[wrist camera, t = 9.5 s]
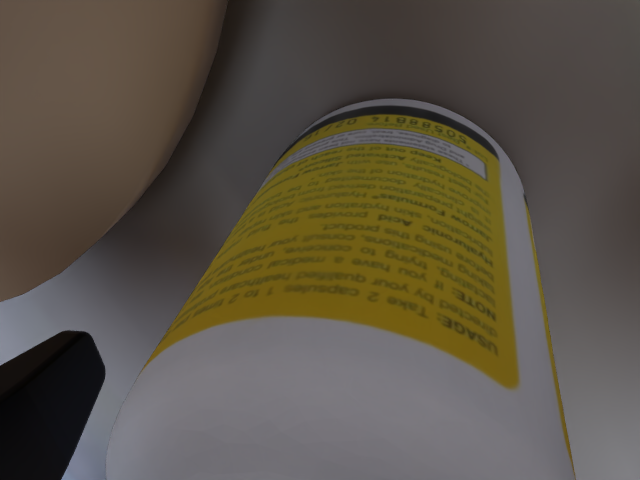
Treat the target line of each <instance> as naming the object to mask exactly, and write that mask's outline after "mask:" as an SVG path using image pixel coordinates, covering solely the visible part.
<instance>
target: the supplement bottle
mask: <svg viewBox="0 0 640 480" xmlns="http://www.w3.org/2000/svg"><path fill="white" fill-rule="evenodd" d="M106 480H576V478H575V472H574V467H573V461H572V456H571V450H570V444H569V439H568V434H567V428H566V423H565V418H564V412H563V405H562V401H561V395H560V390H559V384H558V379H557V372H556V367H555V361H554V354H553V350H552V343H551V336H550V331H549V325H548V318H547V312H546V306H545V300H544V294H543V290H542V284H541V277H540V270H539V264H538V260H537V254H536V248H535V242H534V236H533V229H532V223H531V218H530V214H529V209H528V205H527V201H526V197H525V193H524V189H523V186H522V183H521V180H520V178H519V176H518V174H517V172H516V169H515V167H514V166H513V164H512V162H511V161H510V159H509V157H508V156H507V155H506V153H505V152H504V151H503V149H502V148H501V147H500V146H499V145H498V144H497V143H496V141H495V140H494V139H492V138H491V137H490V136H489V135H488V134H487V133H486V132H485V131H483V130H482V129H481V128H480V127H478V126H477V125H475V124H474V123H473V122H471V121H469V120H468V119H466V118H464V117H463V116H461V115H459V114H456V113H454V112H452V111H450V110H448V109H445V108H443V107H440V106H437V105H433V104H430V103H426V102H421V101H416V100H408V99H377V100H371V101H365V102H360V103H356V104H352V105H349V106H346V107H343V108H340V109H338V110H335V111H333V112H332V113H330V114H328V115H326V116H324V117H322V118H320V119H319V120H318V121H316V122H315V123H313V124H312V125H311V126H309V127H308V128H307V129H306V130H305V131H304V132H302V133H301V134H300V135H299V136H298V137H297V138H296V139H295V140H294V142H293V143H292V144H291V145H290V146H289V147H288V148H287V149H286V151H285V152H284V153H283V154H282V156H281V157H280V158H279V159H278V161H277V162H276V163H275V165H274V167H273V168H272V170H271V171H270V173H269V174H268V176H267V177H266V179H265V181H264V182H263V184H262V185H261V187H260V188H259V190H258V192H257V193H256V195H255V196H254V198H253V199H252V201H251V202H250V204H249V205H248V207H247V208H246V210H245V212H244V213H243V215H242V217H241V218H240V220H239V221H238V223H237V224H236V226H235V227H234V228H233V230H232V232H231V233H230V235H229V236H228V238H227V240H226V241H225V243H224V244H223V246H222V247H221V249H220V250H219V252H218V254H217V255H216V257H215V258H214V260H213V261H212V263H211V264H210V266H209V267H208V269H207V271H206V272H205V274H204V275H203V277H202V278H201V280H200V281H199V283H198V284H197V286H196V287H195V289H194V291H193V292H192V294H191V295H190V297H189V298H188V300H187V301H186V303H185V304H184V306H183V308H182V309H181V311H180V312H179V314H178V315H177V317H176V318H175V320H174V321H173V323H172V325H171V326H170V328H169V329H168V331H167V332H166V334H165V335H164V337H163V338H162V340H161V342H160V343H159V345H158V346H157V348H156V349H155V351H154V352H153V354H152V355H151V357H150V358H149V360H148V361H147V363H146V364H145V366H144V368H143V369H142V371H141V373H140V374H139V376H138V378H137V380H136V381H135V383H134V385H133V387H132V388H131V390H130V392H129V394H128V396H127V397H126V399H125V401H124V403H123V405H122V406H121V408H120V411H119V413H118V416H117V418H116V421H115V423H114V426H113V428H112V432H111V436H110V440H109V444H108V448H107V457H106Z"/></svg>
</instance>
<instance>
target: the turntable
mask: <svg viewBox="0 0 640 480" xmlns="http://www.w3.org/2000/svg"><path fill="white" fill-rule="evenodd" d="M227 3H228V0H0V302H1V301H4V300H7V299H10V298H13V297H16V296H19V295H22V294H24V293H26V292H28V291H30V290H31V289H33V288H35V287H37V286H39V285H40V284H42V283H44V282H46V281H47V280H49V279H51V278H53V277H54V276H56V275H58V274H60V273H61V272H63V271H64V270H65V269H66V268H67V267H68V266H70V265H71V264H72V263H73V262H74V261H75V260H76V259H78V258H79V257H80V256H81V255H82V254H83V253H85V252H86V251H87V250H88V249H89V248H90V247H92V246H93V245H94V244H95V243H96V242H97V241H98V240H99V239H100V238H101V237H102V236H103V235H104V234H105V233H106V232H107V231H108V230H109V229H111V228H112V227H113V226H114V225H115V224H116V223H117V222H118V221H119V220H120V219H121V218H122V217H123V216H124V215H125V214H126V213H127V212H128V211H129V210H130V209H131V208H132V207H133V206H134V205H135V204H136V202H137V201H138V200H139V199H140V197H141V196H142V195H143V194H144V192H145V191H146V190H147V189H148V187H149V186H150V185H151V184H152V182H153V181H154V180H155V179H156V177H157V176H158V175H159V174H160V172H161V171H162V170H163V169H164V167H165V166H166V164H167V162H168V161H169V159H170V157H171V155H172V153H173V152H174V150H175V148H176V146H177V144H178V142H179V141H180V139H181V137H182V135H183V133H184V132H185V130H186V128H187V126H188V124H189V123H190V121H191V119H192V117H193V115H194V113H195V110H196V107H197V104H198V102H199V99H200V96H201V93H202V91H203V88H204V85H205V83H206V80H207V77H208V74H209V72H210V69H211V66H212V63H213V61H214V58H215V55H216V52H217V49H218V44H219V40H220V35H221V31H222V26H223V22H224V17H225V12H226V8H227Z"/></svg>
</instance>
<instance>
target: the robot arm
mask: <svg viewBox="0 0 640 480" xmlns="http://www.w3.org/2000/svg"><path fill="white" fill-rule="evenodd" d="M104 379H105V366H104V363H103V361H102V358H101V356H100V354H99V351H98V349H97V347H96V344H95V342H94V340H93V338H92V336H91V335H90V334H89V333H87V332H84V331H71V330H68V331H62V332H60V333H58V334H56V335H55V336H53V337H51V338H49V339H47V340H46V341H44V342H42V343H40V344H38V345H37V346H35V347H33V348H31V349H29V350H28V351H26V352H24V353H22V354H20V355H19V356H17V357H15V358H13V359H11V360H10V361H8V362H6V363H4V364H2V365H1V366H0V480H61V479H62V477H63V475H64V473H65V471H66V469H67V467H68V465H69V463H70V460H71V458H72V456H73V454H74V452H75V449H76V447H77V444H78V442H79V440H80V437H81V435H82V433H83V430H84V428H85V425H86V423H87V421H88V418H89V416H90V414H91V411H92V409H93V406H94V404H95V402H96V399H97V397H98V395H99V392H100V390H101V387H102V385H103V383H104Z"/></svg>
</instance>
